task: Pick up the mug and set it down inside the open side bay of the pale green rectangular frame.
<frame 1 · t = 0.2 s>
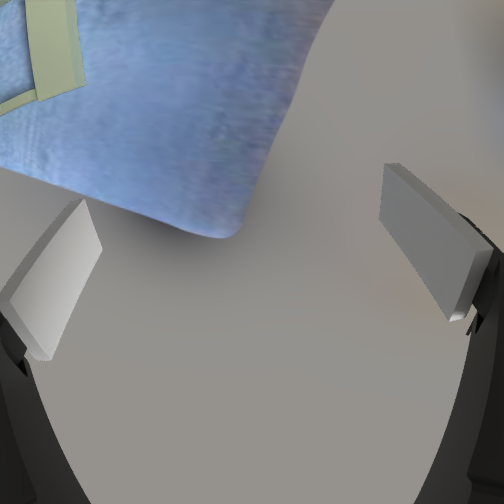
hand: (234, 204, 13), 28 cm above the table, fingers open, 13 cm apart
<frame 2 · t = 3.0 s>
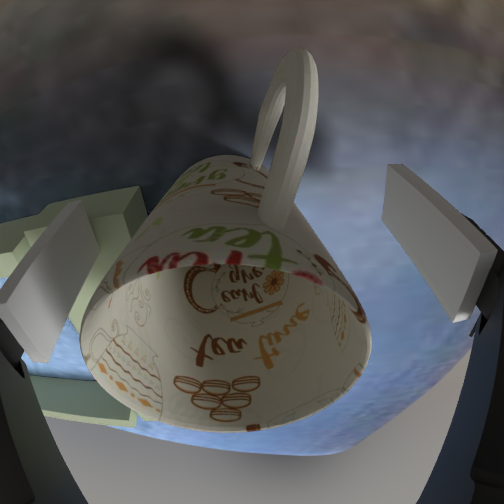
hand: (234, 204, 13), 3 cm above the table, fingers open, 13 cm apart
pale green rectangular frame: (21, 325, 21), on the table
mug: (236, 170, 16), on the table
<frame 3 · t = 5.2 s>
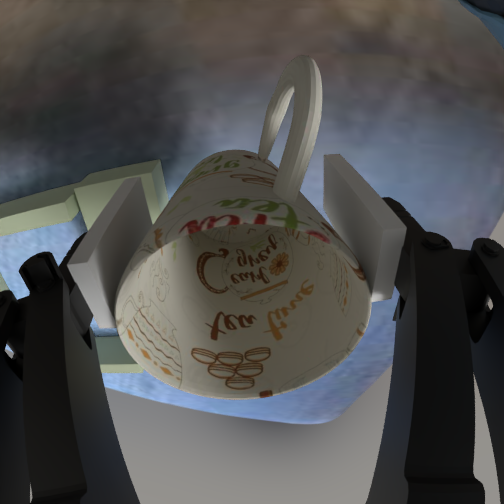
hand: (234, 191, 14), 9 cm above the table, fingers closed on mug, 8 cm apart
pale green rectangular frame: (48, 283, 27), on the table
mug: (243, 163, 17), point 6 cm above the table, touching gripper
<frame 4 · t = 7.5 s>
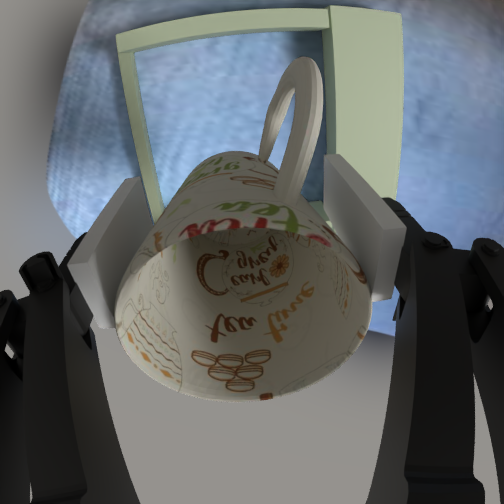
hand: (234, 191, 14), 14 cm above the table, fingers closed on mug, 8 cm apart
pale green rectangular frame: (222, 127, 26), on the table
mug: (243, 165, 17), point 10 cm above the table, touching gripper
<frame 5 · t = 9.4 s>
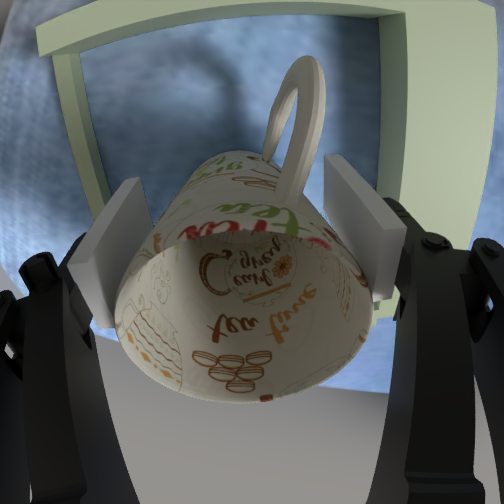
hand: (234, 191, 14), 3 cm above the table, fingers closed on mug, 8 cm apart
pale green rectangular frame: (219, 168, 17), on the table
mug: (247, 164, 17), resting in pale green rectangular frame, touching gripper
when the fingers open (3 cm above the table, at t = 10.2 s): mug stays where it is, resting in pale green rectangular frame.
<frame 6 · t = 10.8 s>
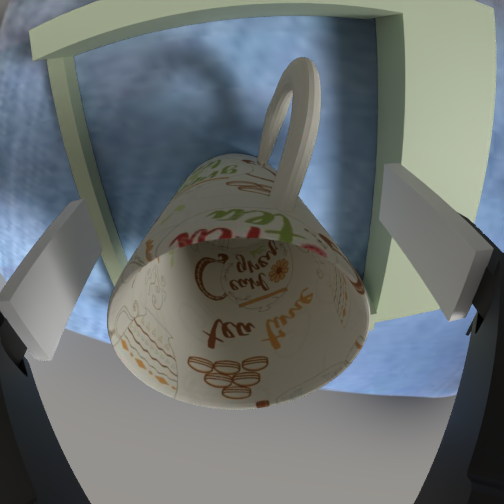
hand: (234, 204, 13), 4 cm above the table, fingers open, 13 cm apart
pale green rectangular frame: (214, 172, 17), on the table
mug: (243, 167, 17), resting in pale green rectangular frame
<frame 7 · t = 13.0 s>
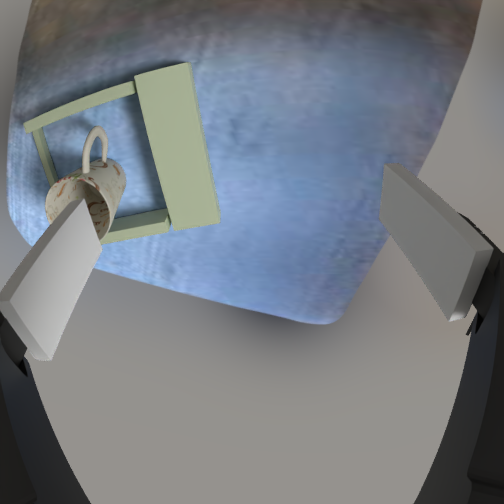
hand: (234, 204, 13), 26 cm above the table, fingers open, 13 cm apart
pale green rectangular frame: (96, 166, 37), on the table
mug: (106, 163, 37), resting in pale green rectangular frame
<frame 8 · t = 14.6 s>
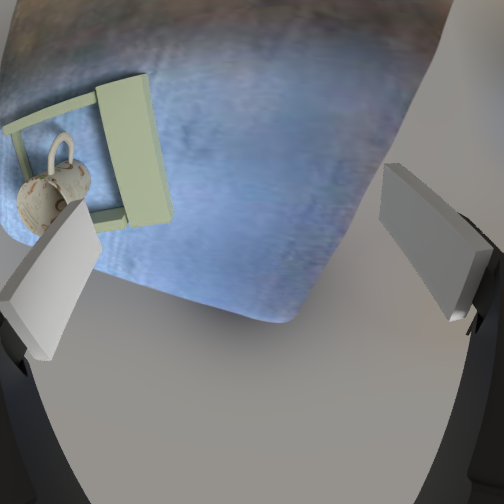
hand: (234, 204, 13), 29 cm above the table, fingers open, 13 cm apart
pale green rectangular frame: (65, 166, 39), on the table
mug: (74, 164, 39), resting in pale green rectangular frame
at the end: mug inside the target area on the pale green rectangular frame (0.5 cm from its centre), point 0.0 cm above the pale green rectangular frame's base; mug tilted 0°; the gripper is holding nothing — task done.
